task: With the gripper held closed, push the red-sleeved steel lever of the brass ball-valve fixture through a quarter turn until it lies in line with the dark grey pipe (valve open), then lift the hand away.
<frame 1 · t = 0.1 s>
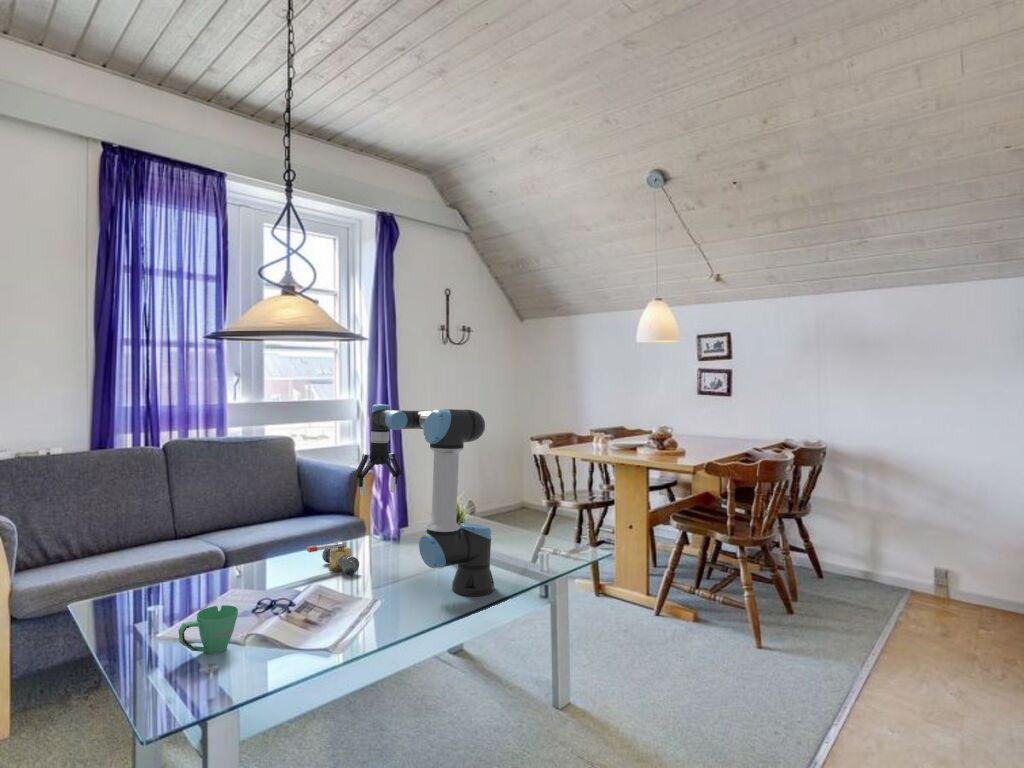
hand: (377, 493, 237), 28 cm above the table, fingers open, 13 cm apart
valve body: (339, 569, 225), on the table
lever: (327, 546, 222), point 10 cm above the table, hinge at 90.0°
mug: (206, 653, 151), on the table
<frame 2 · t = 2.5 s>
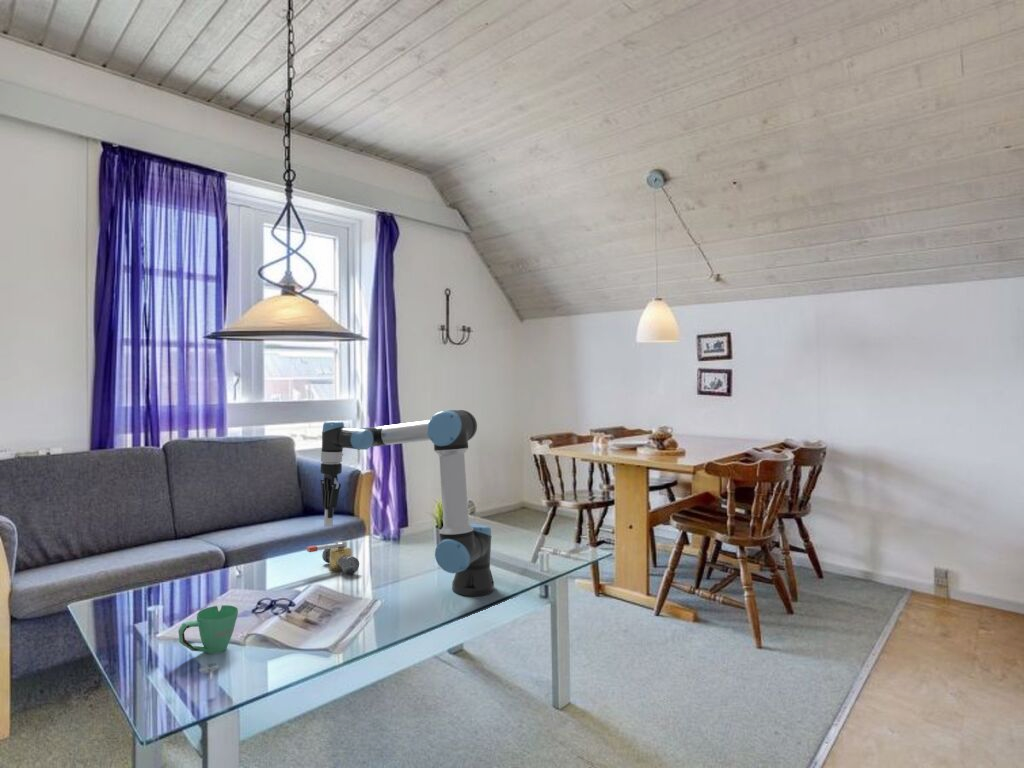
hand: (328, 526, 214), 19 cm above the table, fingers closed
nothing on the table moved.
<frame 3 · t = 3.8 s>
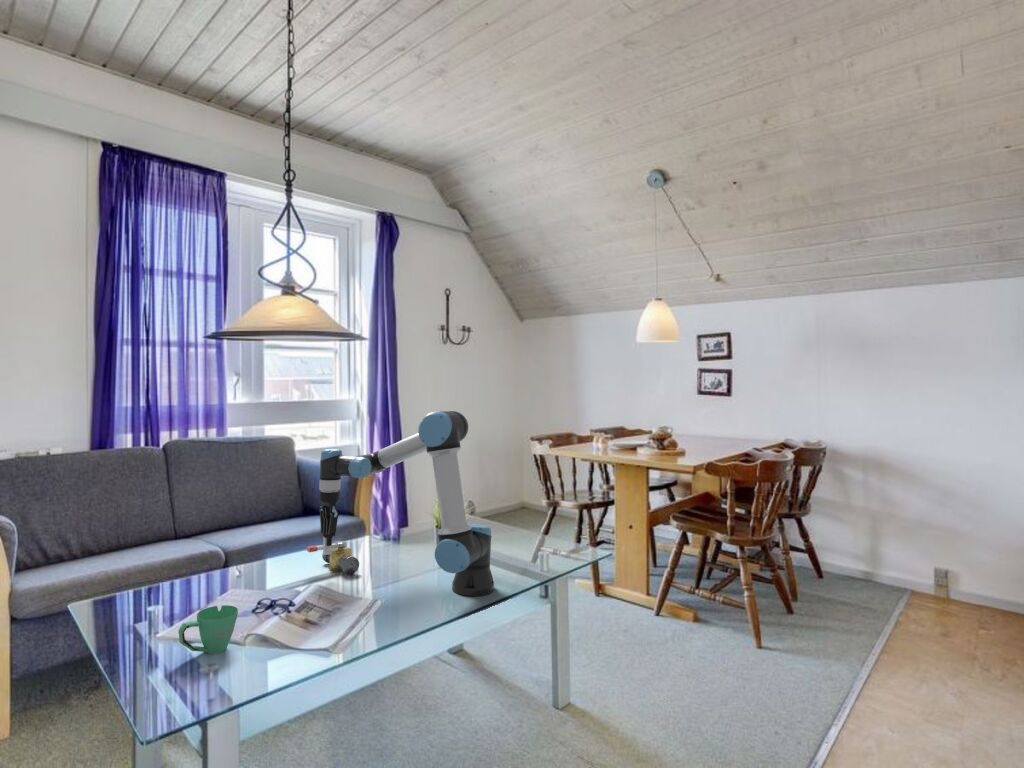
hand: (327, 554, 214), 9 cm above the table, fingers closed
nothing on the table moved.
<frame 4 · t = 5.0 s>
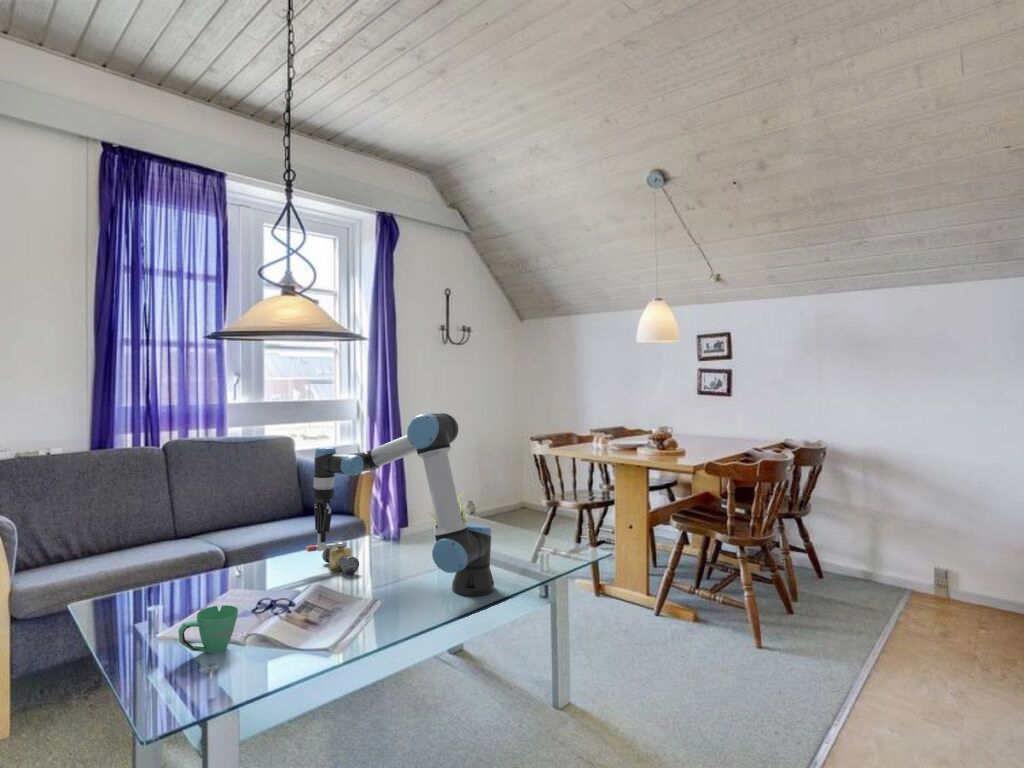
hand: (321, 550, 219), 9 cm above the table, fingers closed
lever: (327, 546, 222), point 10 cm above the table, hinge at 85.8°, touching gripper
everything else where it was.
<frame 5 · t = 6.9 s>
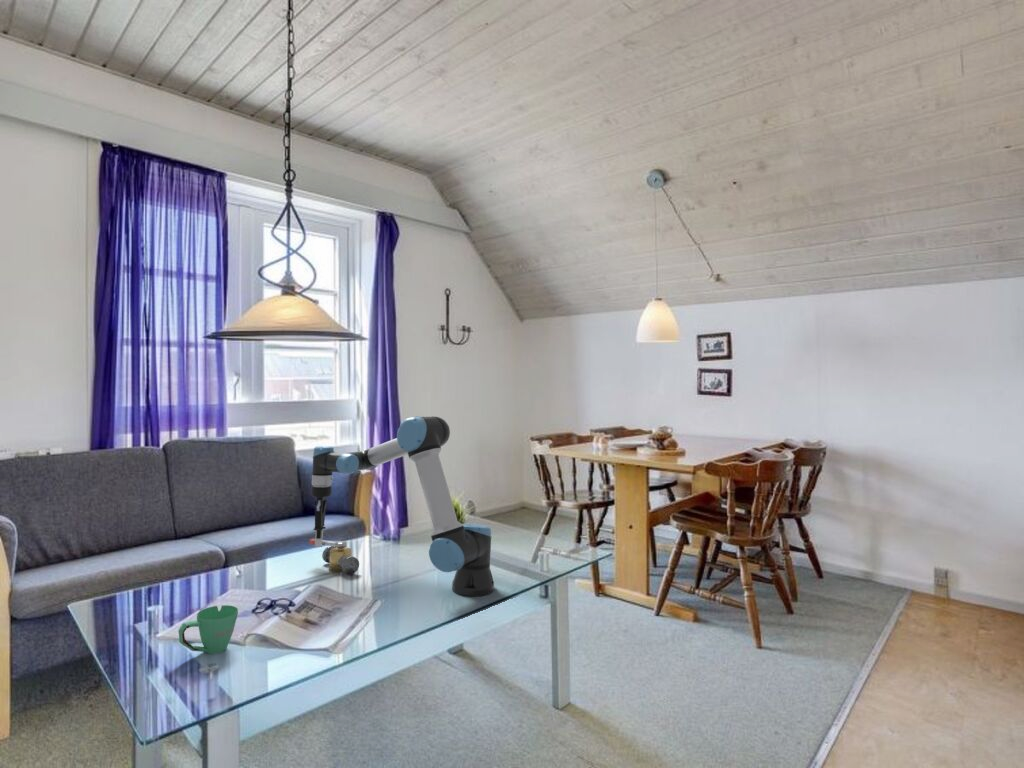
hand: (318, 546, 225), 9 cm above the table, fingers closed
lever: (328, 543, 226), point 10 cm above the table, hinge at 35.7°, touching gripper
everything else where it was.
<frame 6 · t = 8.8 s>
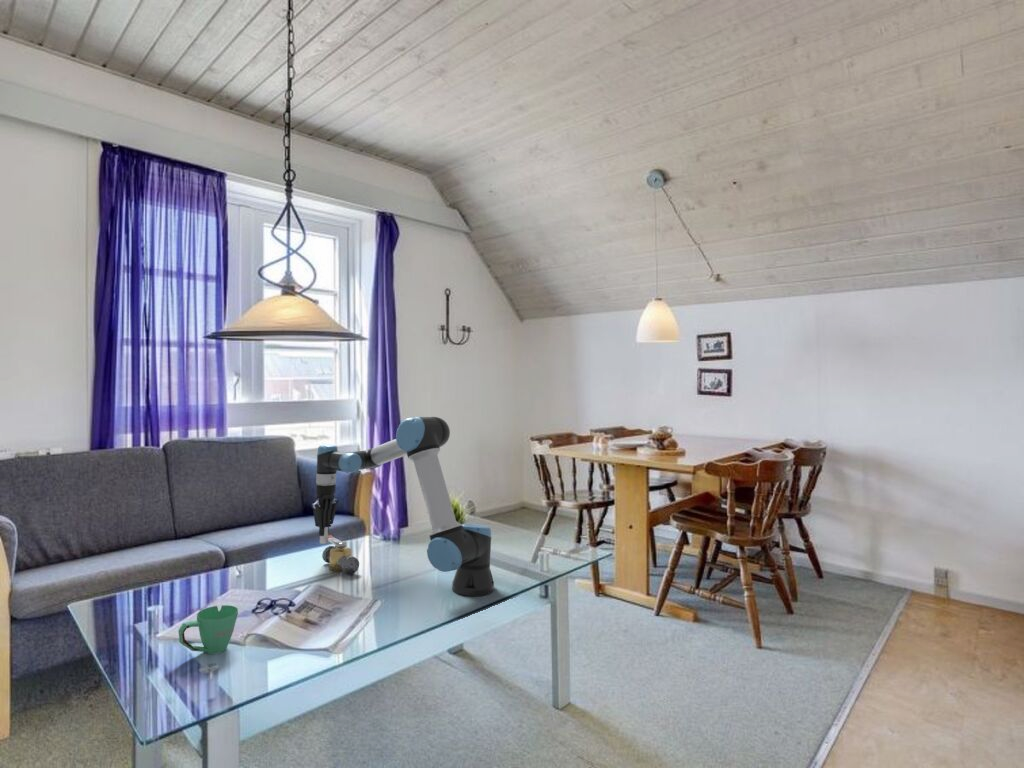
hand: (323, 543, 229), 9 cm above the table, fingers closed
lever: (335, 541, 229), point 10 cm above the table, hinge at 0.2°
everything else where it was.
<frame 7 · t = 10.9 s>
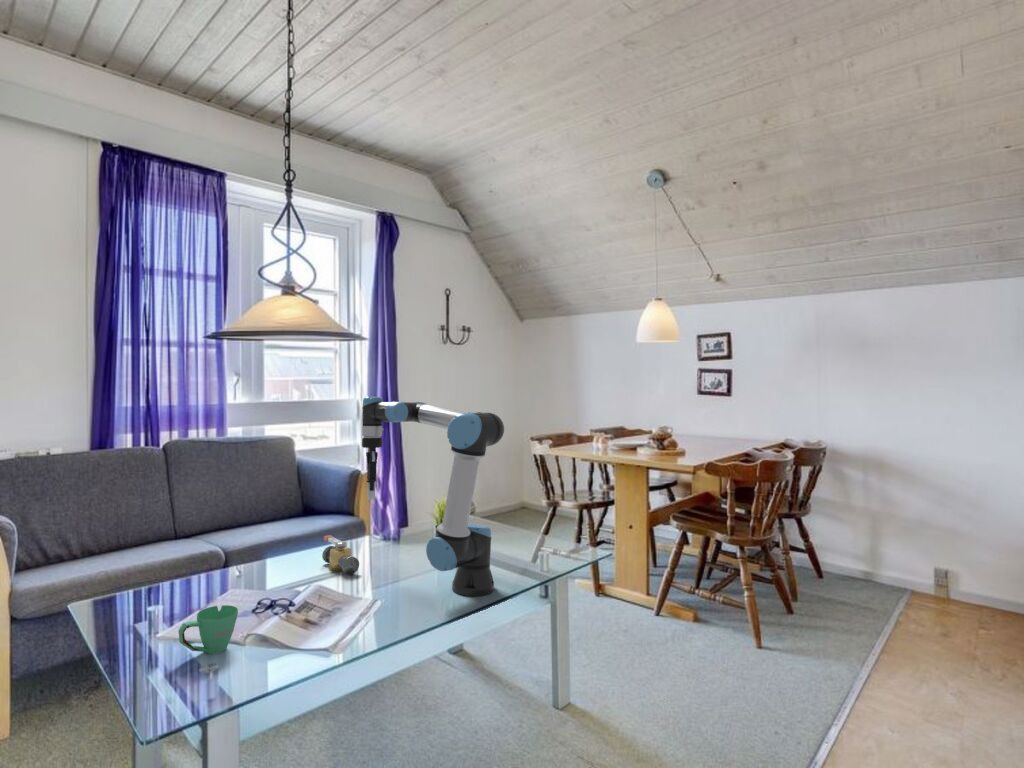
hand: (371, 498, 220), 29 cm above the table, fingers closed
nothing on the table moved.
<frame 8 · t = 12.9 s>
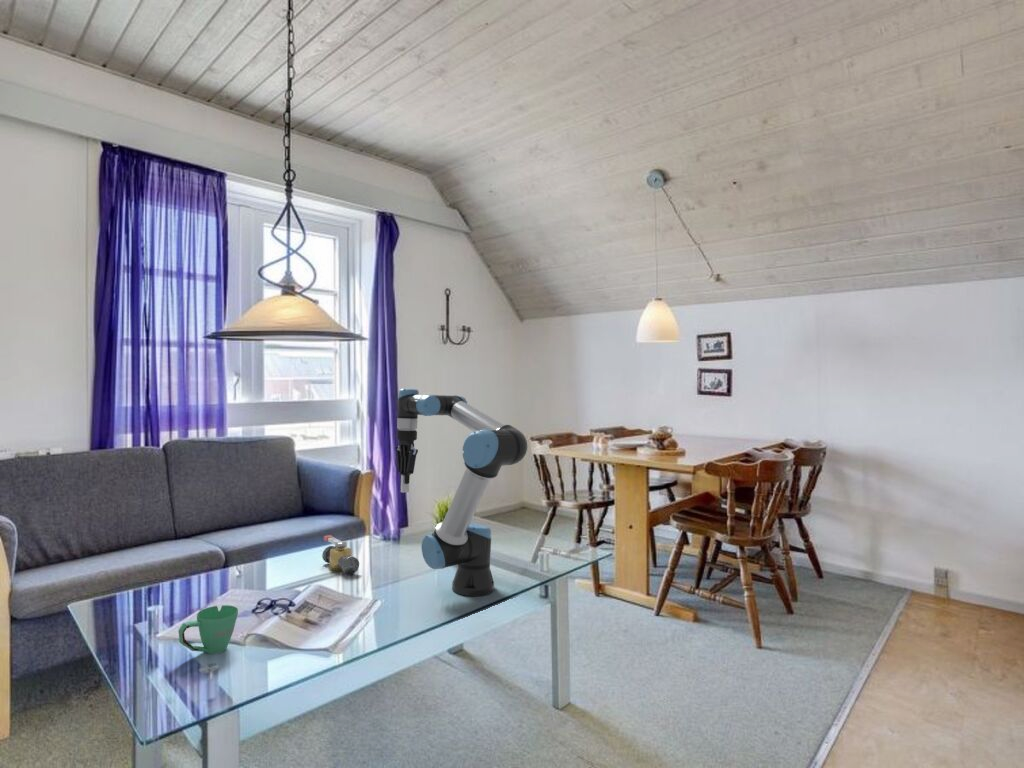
hand: (404, 492, 217), 32 cm above the table, fingers closed
nothing on the table moved.
at the end: lever at +0° (first picture: +90°) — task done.
